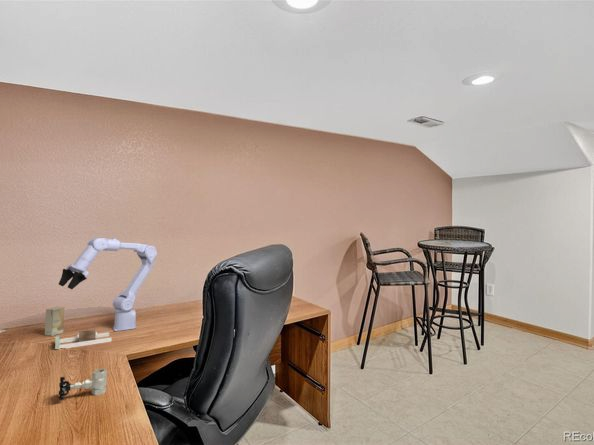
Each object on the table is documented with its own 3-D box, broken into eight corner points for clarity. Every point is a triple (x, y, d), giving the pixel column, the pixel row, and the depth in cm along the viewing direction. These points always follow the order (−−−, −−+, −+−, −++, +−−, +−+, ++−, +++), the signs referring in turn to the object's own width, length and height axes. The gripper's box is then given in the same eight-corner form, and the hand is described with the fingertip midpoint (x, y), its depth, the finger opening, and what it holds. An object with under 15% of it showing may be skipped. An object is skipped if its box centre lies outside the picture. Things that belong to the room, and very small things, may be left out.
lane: (107, 332, 163) (107, 326, 163) (111, 341, 150) (111, 334, 151) (55, 340, 151) (55, 333, 151) (55, 350, 139) (55, 342, 139)
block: (94, 339, 153) (94, 329, 154) (95, 342, 149) (95, 332, 149) (78, 341, 150) (79, 331, 150) (79, 344, 146) (79, 334, 146)
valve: (106, 386, 107) (60, 395, 101) (107, 365, 108) (61, 373, 102) (106, 395, 102) (58, 405, 96) (107, 373, 102) (59, 381, 96)
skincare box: (52, 336, 156) (52, 309, 157) (44, 335, 157) (45, 309, 158) (64, 332, 163) (65, 306, 163) (56, 331, 164) (57, 306, 164)
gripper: (69, 254, 157) (48, 280, 151) (86, 258, 150) (66, 285, 144) (81, 261, 162) (62, 287, 156) (99, 266, 155) (79, 292, 149)
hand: (65, 286), depth 150 cm, fingers open, 7 cm apart
